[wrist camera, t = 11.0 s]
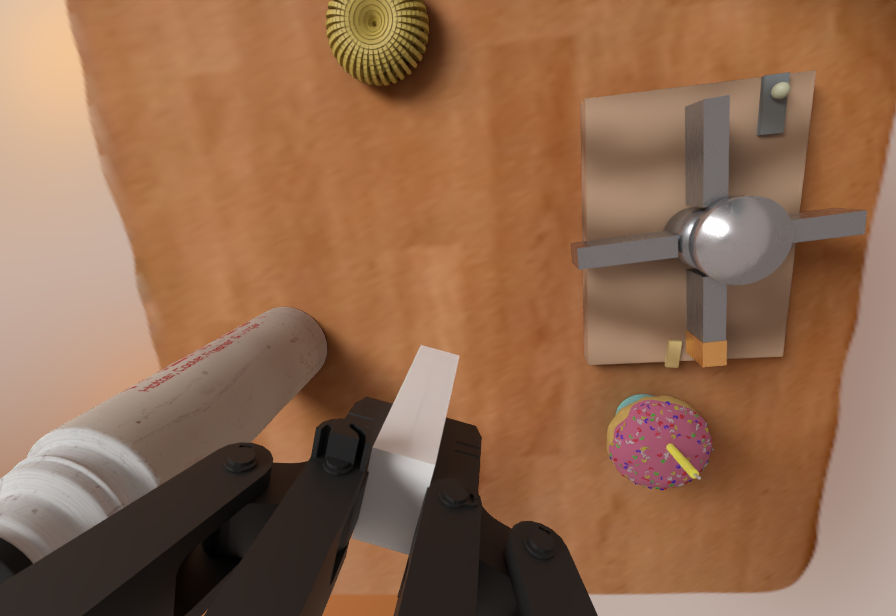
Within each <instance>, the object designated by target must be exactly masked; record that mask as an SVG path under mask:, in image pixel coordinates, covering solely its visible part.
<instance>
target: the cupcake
mask: <svg viewBox="0 0 896 616" xmlns="http://www.w3.org/2000/svg"><path fill="white" fill-rule="evenodd" d="M606 448H607V452H608V454H609V456H610V459H611V460H612V462H613V464H614V465H615V467H616V468H617V470H618V471H619V472H620V473H621V474H622V476H624V477H626V478H628V479H629V480H631V481H632V482H634V483H635V484H639V485H642V486H643V487H648V488H650V489H652V488H655V489H660V488H662V489H660V490H664V488H665V489H667V488H670V487H679V486H683V484H686V483H688V482H690V481H692V480H691V479H693V478H694V479H695V478H697V479H699V480H700V479H701V477H699V475H700V472H701V471H703V470H705V466H707V464H708V462H709V461H708V459H709V456H710V453H711V450H713V448H712V439H711V436H710V433H709V429H708V426H707V423H706V422H705V420H704V419H703V418H702V417H701V416H700V415H699V414H698V412H697V411H696V410H695V409H694V408H693V407H691V406H690V405H689V404H688V403H686V402H684V401H682V400H679V399H676V398H674V397H671V396H667V395H663V396H657V397H655V396H652V395H648V394H637V395H633V396H631V397H629V398H627V399H625V400H624V401H623V402H622V403H621V404H620V405H619V407H618V409H617V411H616V415H615V417H614V418H613V419H612V421H611V422H610V424H609V426H608V430H607V447H606ZM713 451H714V450H713Z"/></svg>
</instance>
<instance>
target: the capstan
mask: <svg viewBox="0 0 896 616" xmlns="http://www.w3.org/2000/svg"><path fill="white" fill-rule="evenodd" d="M729 121H730V95H725V96H720V97H714V98H708V99H703V100H701V101H698V102H696V103H693V104H691V105H688V106H686V107H685V183H686V205H687V206H695V207H689V208H685V209H683V210H681V211H679V212H677V213H676V214H674V215H673V216H672V217H671V218H670V219H669V221H668V222H667V224H666V226H665V228H664V231H657V232H650V233H642V234H635V235H627V236H620V237H612V238H605V239H597V240H590V241H583V242H575V243H571V253H572V263H573V264H574V265H575V266H576V267H577V268H578V269H579V270H581V269H589V268H597V267H605V266H613V265H621V264H629V263H637V262H645V261H653V260H661V259H669V258H674V259H675V260H678V261H680V262H682V263H684V264H687V265H689V266H691V267H694V268H693V269H686V298H687V330H686V353H687V354H689V355H690V356H691V357H692V358H693V359H694V360H695V361H696V362H697V363H699V364H700V365H701V366H702V367H712V366H723V365H727V340H726V306H727V284H730V285H745V284H750V283H754V282H757V281H759V280H762V279H763V278H765V277H767V276H769V275H770V274H771V273H773V272H774V271H775V270H776V269H777V268H778V267H779V266H780V265H781V264H782V263H783V261H784V260H785V259H786V257H787V255H788V253H789V251H790V249H791V245H792V243H797V242H805V241H813V240H821V239H829V238H837V237H845V236H853V235H861V234H865V226H866V215H867V210H856V209H843V208H829V209H822V210H814V211H807V212H799V213H792V214H788V213H787V212H786V211H785V209H784V208H783V207H782V206H781V205H779V204H778V203H777V202H775V201H773V200H771V199H768V198H765V197H760V196H745V195H738V196H731V197H728V183H729ZM704 207H708V208H704Z"/></svg>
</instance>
